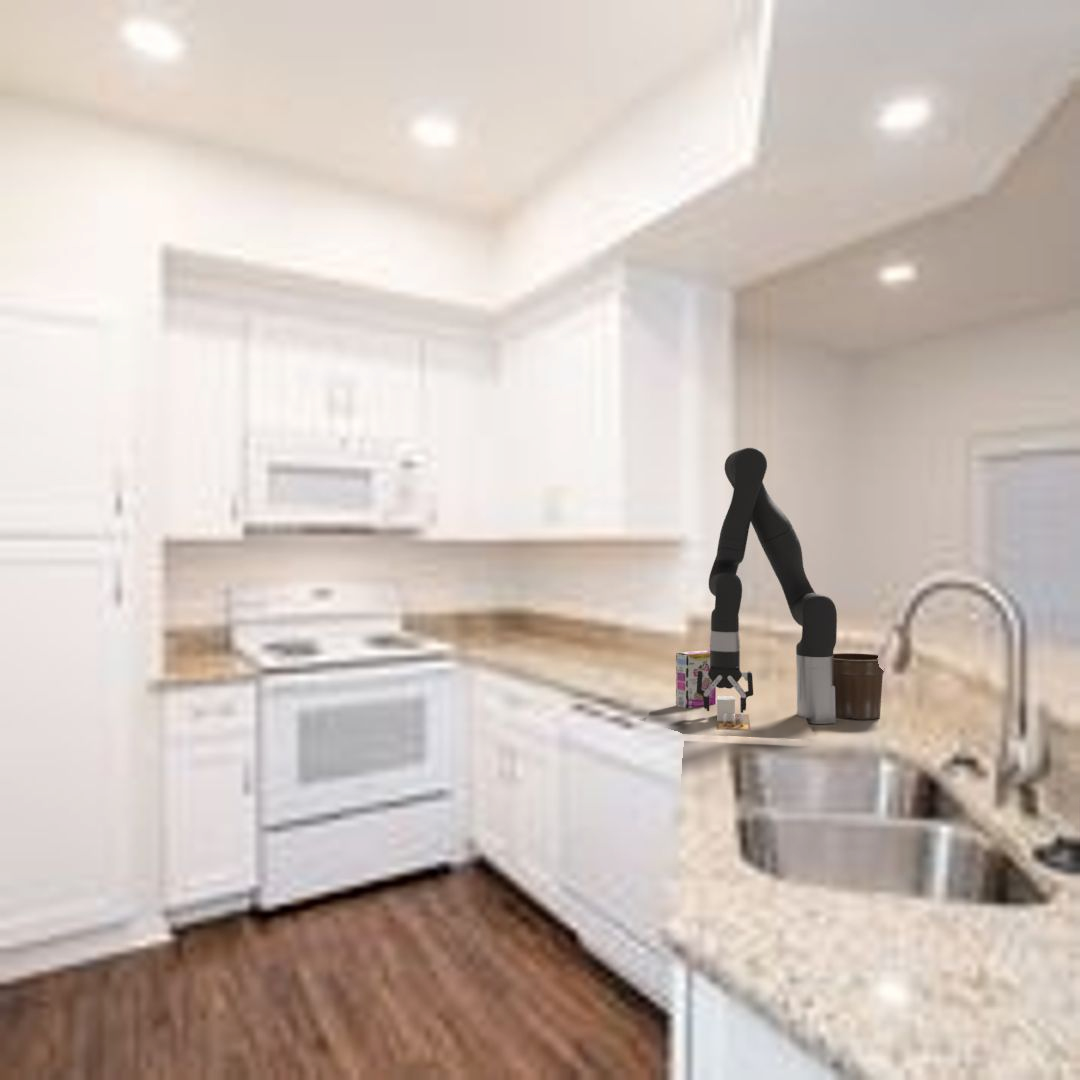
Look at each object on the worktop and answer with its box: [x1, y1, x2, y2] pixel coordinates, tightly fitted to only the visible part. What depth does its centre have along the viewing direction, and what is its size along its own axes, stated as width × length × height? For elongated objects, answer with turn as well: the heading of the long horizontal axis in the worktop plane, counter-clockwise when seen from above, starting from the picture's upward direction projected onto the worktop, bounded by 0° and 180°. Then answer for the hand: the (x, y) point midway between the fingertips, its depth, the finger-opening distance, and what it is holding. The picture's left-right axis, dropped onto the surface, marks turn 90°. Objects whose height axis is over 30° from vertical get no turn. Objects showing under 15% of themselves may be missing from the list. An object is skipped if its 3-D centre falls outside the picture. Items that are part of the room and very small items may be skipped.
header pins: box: [723, 713, 745, 727], centre depth 198 cm, size 5×1×3 cm, turn 77°
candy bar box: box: [675, 650, 717, 709], centre depth 226 cm, size 11×5×16 cm, turn 122°
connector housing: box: [716, 695, 736, 722], centre depth 208 cm, size 8×4×5 cm, turn 167°
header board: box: [716, 713, 752, 732], centre depth 203 cm, size 8×20×2 cm, turn 167°
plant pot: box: [833, 652, 885, 721], centre depth 217 cm, size 16×16×16 cm
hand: (724, 711), depth 208 cm, fingers open, 8 cm apart
